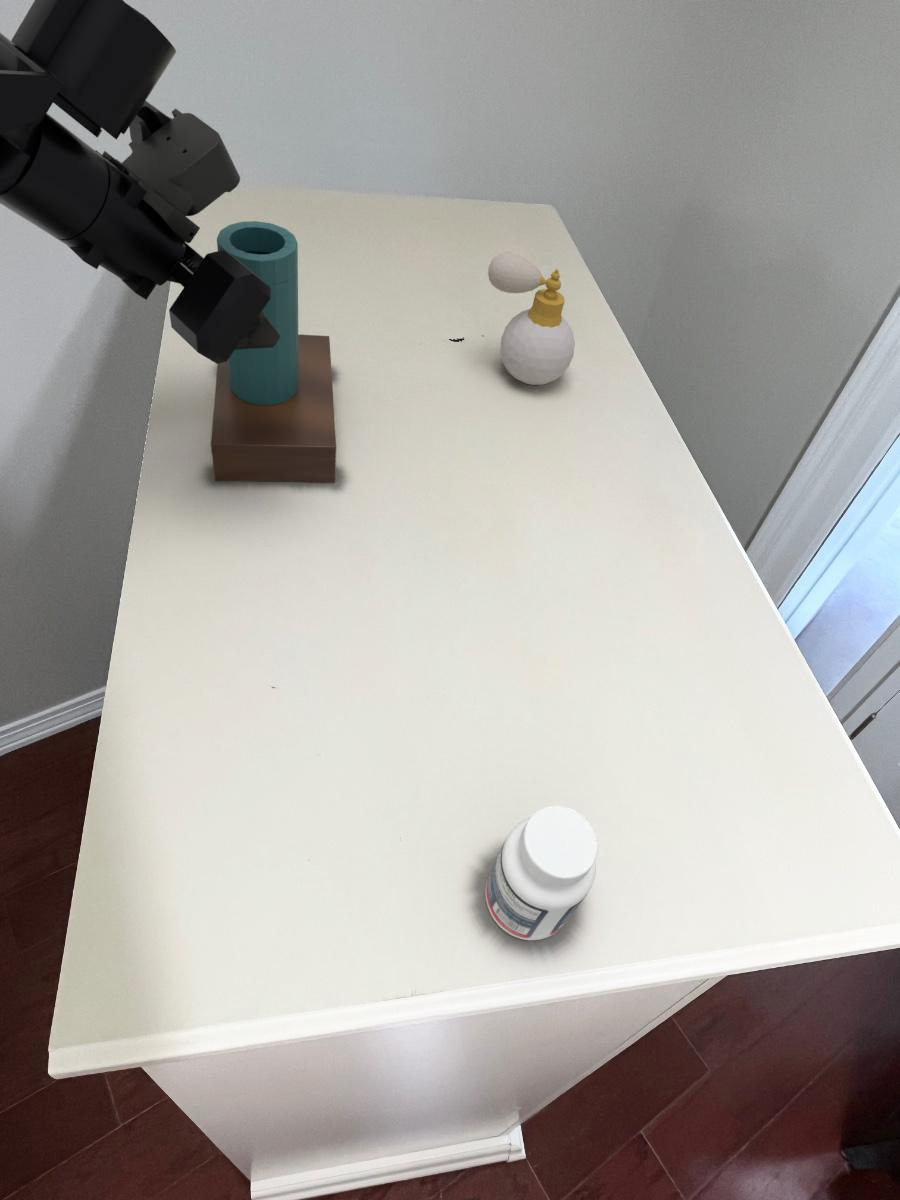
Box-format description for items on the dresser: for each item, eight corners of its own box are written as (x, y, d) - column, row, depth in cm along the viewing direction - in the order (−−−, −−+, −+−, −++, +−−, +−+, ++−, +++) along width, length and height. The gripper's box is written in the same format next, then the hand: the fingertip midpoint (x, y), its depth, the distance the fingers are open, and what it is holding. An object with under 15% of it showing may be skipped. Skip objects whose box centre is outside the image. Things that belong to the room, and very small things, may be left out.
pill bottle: (556, 850, 50) (596, 788, 43) (578, 935, 47) (625, 883, 40) (476, 860, 49) (503, 798, 42) (493, 948, 46) (525, 896, 39)
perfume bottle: (573, 398, 81) (607, 289, 72) (481, 397, 79) (504, 285, 70) (555, 355, 86) (584, 248, 77) (467, 353, 84) (487, 242, 74)
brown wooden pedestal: (334, 482, 68) (336, 447, 65) (215, 481, 67) (210, 444, 63) (328, 371, 78) (329, 335, 75) (223, 367, 76) (220, 330, 73)
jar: (255, 414, 67) (246, 267, 57) (216, 378, 69) (201, 231, 59) (311, 391, 70) (312, 248, 60) (272, 357, 72) (267, 214, 62)
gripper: (235, 143, 43) (378, 283, 57) (74, 25, 51) (235, 174, 65) (124, 312, 45) (288, 406, 59) (-15, 174, 53) (160, 287, 67)
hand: (242, 311), depth 62 cm, fingers open, 9 cm apart
